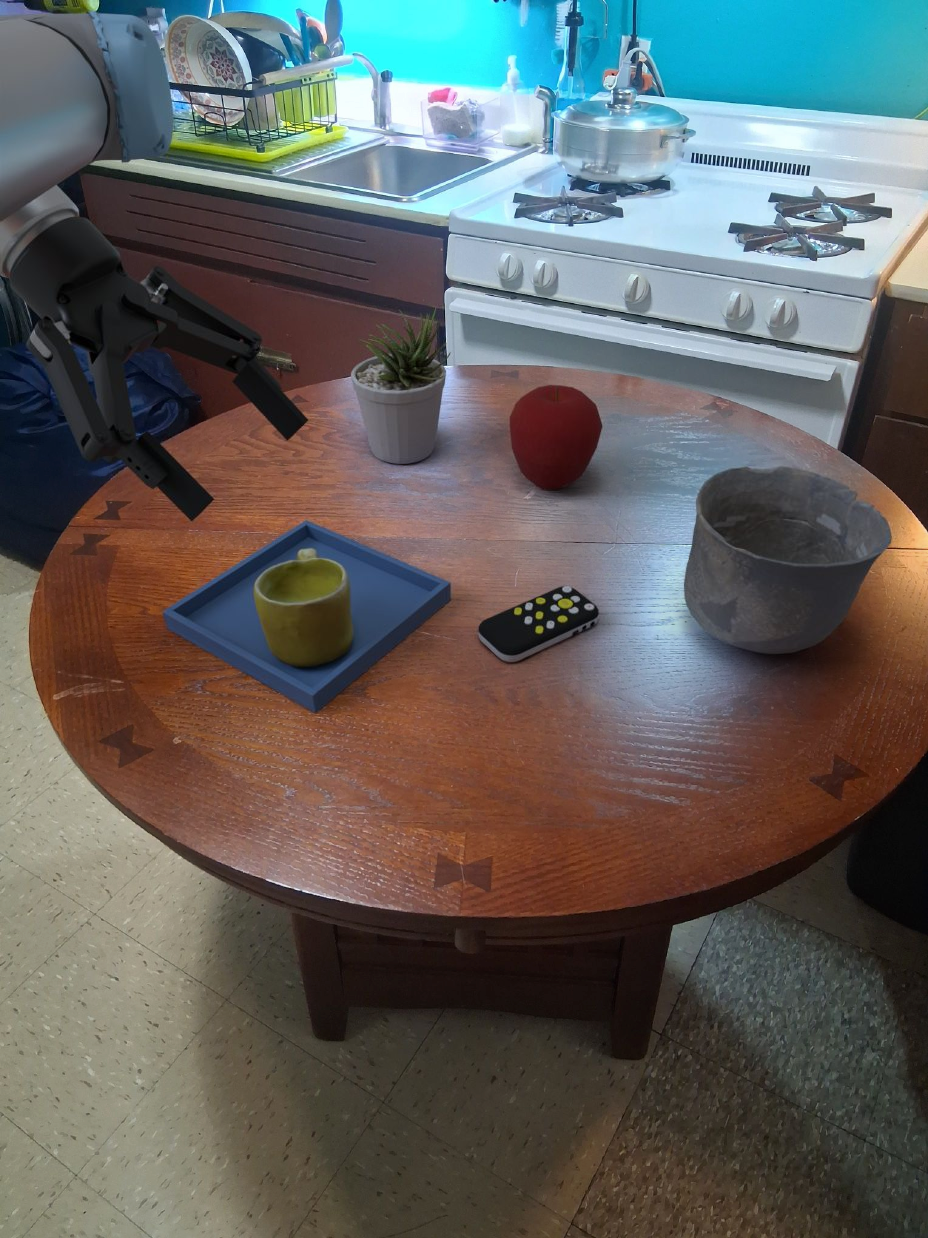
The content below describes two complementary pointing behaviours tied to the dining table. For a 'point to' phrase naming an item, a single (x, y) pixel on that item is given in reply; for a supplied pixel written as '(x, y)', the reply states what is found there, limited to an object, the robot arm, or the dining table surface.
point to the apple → (554, 435)
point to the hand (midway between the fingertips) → (254, 468)
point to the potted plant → (401, 395)
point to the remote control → (537, 623)
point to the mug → (305, 610)
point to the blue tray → (380, 613)
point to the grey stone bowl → (778, 557)
